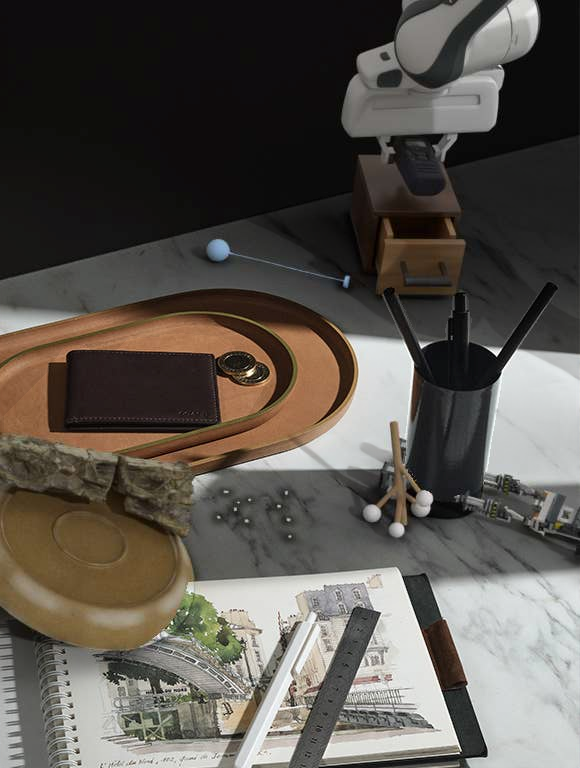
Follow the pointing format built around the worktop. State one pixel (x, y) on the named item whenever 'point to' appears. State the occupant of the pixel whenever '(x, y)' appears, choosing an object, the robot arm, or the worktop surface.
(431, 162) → the two-way radio
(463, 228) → the worktop surface
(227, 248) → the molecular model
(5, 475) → the fossil
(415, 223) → the drawer
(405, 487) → the toy
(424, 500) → the cotton branch
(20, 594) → the plant saucer
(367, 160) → the cabinet
